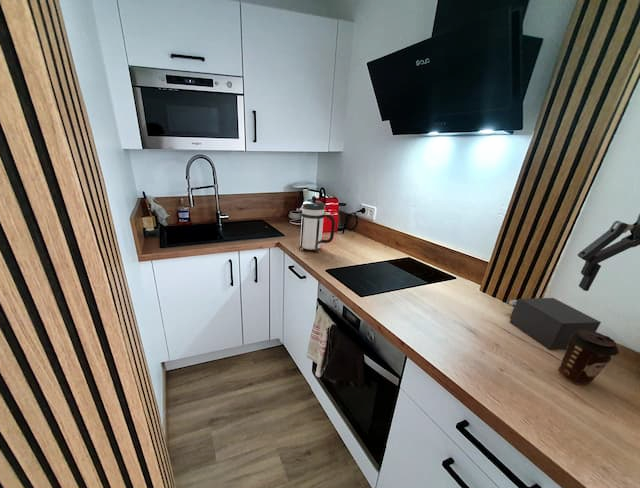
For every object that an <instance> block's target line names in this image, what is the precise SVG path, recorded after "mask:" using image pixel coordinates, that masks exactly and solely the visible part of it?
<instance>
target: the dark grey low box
mask: <svg viewBox="0 0 640 488" xmlns="http://www.w3.org/2000/svg"><path fill="white" fill-rule="evenodd" d="M518 299H519V302H518V304H517V307H516V309H515V311H514V314H513V316H512V318H511V319H510V321H509V323H510V324H511V325H512V326H514V327H515V328H517V329H518V330H520V331H521V332H523V333H524V334H526V335H527V336H529V337H530V338H532V339H533V340H534V341H536V342H537V343H539V344H540V345H542V346H543V347H544V348H546V349H548V350H550V351H552V350H555V351H556V350H566V349H567V346H568V344H569V341H570V340H571V339H570V335H571V334H573V333H576V332H577V331H578V330H591V331H594V332H597V330H598V328H599V327H600V325H601V323H602V322H601V321H600V320H598V319H595V318H593V317H592V316H590V315H588V314H586V313H584V312H582V311H580V310H578V309H576V308H574V307H573V306H570V305H568V304H566V303H564V302H563V301H560V300H558V299H557V298H554V297H535V298H534V297H533V298H530V297H529V298H518Z"/></svg>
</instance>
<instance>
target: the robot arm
mask: <svg viewBox="0 0 640 488" xmlns="http://www.w3.org/2000/svg"><path fill="white" fill-rule="evenodd" d="M628 231H629V232H630V234H628V235H626V236H624V237H622V238H621V240H619V241H617V242H615V243H613V242H614V241H615V240H617V239H618V238H620V236H622V235H623V234H626V233H627V232H628ZM611 243H613V244H611ZM610 244H611V245H610ZM639 246H640V213H639V214H638V216H637V220H636V221H635V222H634V223H632V224H631V223H627V222H623V221H620V220H616V221H614V222H613V223H612V224H611V226H610V228H609V229H608V230H607V231H605V232H604V233H602V234H601V235H600V236H599V237H597V238H596V239H595V240H594V241H593V242H591V243H590V244H588V245H587V246H586V247H585V248H584V249H583V250H581V251H579V252H578V254H577V257H579V258H580V259H581V260H583V261H585V262H584V265H583V266H582V269H581V271H580V274H581V275H582V278H581V280H580V282H579V284H578V287H579V288H580V289H581V290H583V291H584V292H589V290H590V288H591V286H592V284H593V282H594V280H595V279H596V277H597V275H598V273H599V271H600V269H601V267H602V265H601V264H599V263H602V262H604V261H606V260H608V259H610V258H612V257H614V256H617V255H618V254H621V253H622V252H623V253H624V252H625V251H627V250H629V249H631V248H636V247H639Z"/></svg>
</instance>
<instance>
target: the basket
mask: <svg viewBox="0 0 640 488" xmlns="http://www.w3.org/2000/svg"><path fill="white" fill-rule="evenodd" d="M519 299H520V298H517V299H511V300H509V301H508V303H509V305H510V306H514V307H513V309H512V311H511V313H510V316H509V319H510V320H511V318H512V316H513V314H514V311H515V309H516V307H517V304H518V302H519Z"/></svg>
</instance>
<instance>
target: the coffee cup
mask: <svg viewBox="0 0 640 488" xmlns="http://www.w3.org/2000/svg"><path fill="white" fill-rule="evenodd" d="M570 339H571V340H570V341H569V344H568V346H567V349H565V352H564V354H563V357H562V359H561V362H560V364H559V367H558V369H557V373H558V374H559V375H560V376H561V377H562V378H564V379H565V380H567V381H568V382H570V383H573V384H576V385H579V386H589V385H590V384H591V383H592V382H593V381H594V379H595V378H597V376H599V374H600V373H601V372H602V371H603V370H604V369H605V368H606V366H607V365H608V364H609V362H610V361H611V360H612V356H613V357H615V356H617V355H618V354H619V353H620V351H619V347H618V346H617V343H616V342H615V341H616V340H615V339H613V338H611V337H610V336H608V335H604V334H603V333H599V332H597V331H596V332H594V331H591V330H578V331H577V332H576V333H573V334H571V335H570Z"/></svg>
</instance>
